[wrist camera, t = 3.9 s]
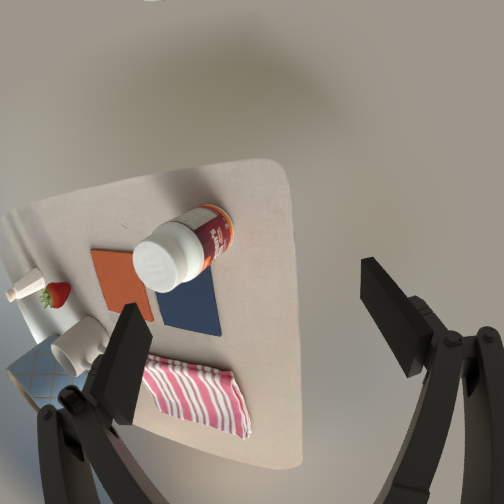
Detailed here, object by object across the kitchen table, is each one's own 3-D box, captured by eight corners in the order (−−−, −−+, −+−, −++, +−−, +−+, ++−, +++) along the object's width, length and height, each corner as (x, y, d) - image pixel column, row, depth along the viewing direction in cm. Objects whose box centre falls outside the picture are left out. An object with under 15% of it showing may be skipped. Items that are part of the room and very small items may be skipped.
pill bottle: (234, 256, 35) (184, 307, 25) (189, 246, 37) (132, 288, 27) (237, 207, 32) (181, 243, 22) (190, 199, 34) (125, 229, 24)
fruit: (68, 272, 50) (40, 289, 43) (80, 295, 52) (53, 314, 45) (59, 276, 53) (33, 293, 46) (70, 298, 54) (45, 316, 47)
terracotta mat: (91, 248, 44) (89, 249, 44) (136, 252, 41) (133, 253, 40) (110, 308, 49) (108, 310, 48) (154, 320, 45) (152, 321, 45)
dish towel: (256, 428, 48) (250, 441, 45) (160, 404, 57) (152, 414, 54) (238, 368, 42) (229, 383, 39) (131, 347, 51) (120, 357, 48)
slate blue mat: (148, 253, 40) (146, 254, 39) (209, 258, 36) (207, 259, 36) (165, 323, 44) (164, 324, 44) (221, 334, 41) (220, 336, 40)
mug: (89, 339, 58) (58, 366, 48) (80, 310, 54) (45, 336, 45) (126, 359, 54) (94, 391, 45) (117, 328, 51) (80, 361, 41)
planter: (92, 391, 73) (54, 430, 56) (52, 351, 74) (13, 384, 57) (95, 366, 63) (46, 413, 46) (49, 319, 64) (-1, 357, 47)
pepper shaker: (34, 263, 56) (1, 282, 47) (45, 276, 56) (11, 297, 46) (35, 278, 59) (4, 297, 50) (46, 291, 59) (14, 311, 49)
